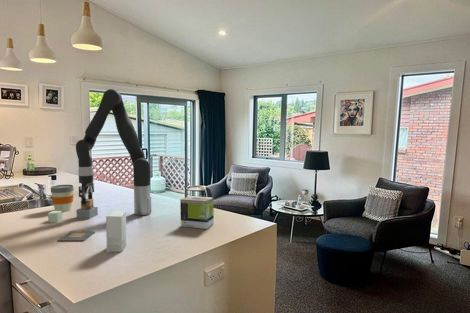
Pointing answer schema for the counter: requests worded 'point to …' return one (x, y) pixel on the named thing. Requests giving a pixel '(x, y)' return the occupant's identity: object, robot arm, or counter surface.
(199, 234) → the counter surface
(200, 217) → the tea box
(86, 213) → the slate block
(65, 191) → the reusable coffee cup
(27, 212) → the counter surface
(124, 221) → the skincare box
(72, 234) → the card
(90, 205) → the walnut block
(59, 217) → the sage green block
